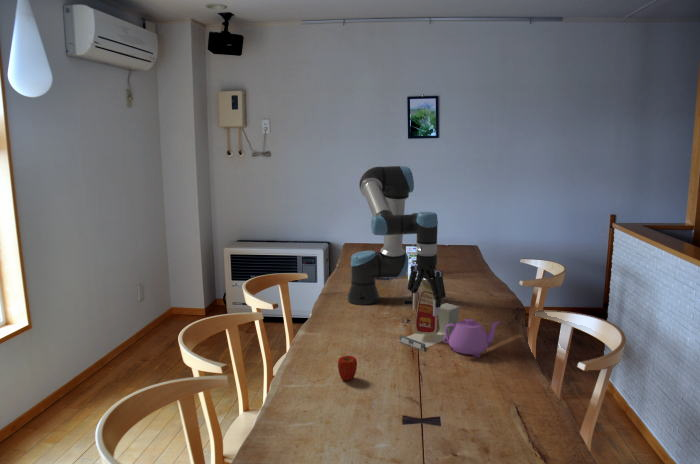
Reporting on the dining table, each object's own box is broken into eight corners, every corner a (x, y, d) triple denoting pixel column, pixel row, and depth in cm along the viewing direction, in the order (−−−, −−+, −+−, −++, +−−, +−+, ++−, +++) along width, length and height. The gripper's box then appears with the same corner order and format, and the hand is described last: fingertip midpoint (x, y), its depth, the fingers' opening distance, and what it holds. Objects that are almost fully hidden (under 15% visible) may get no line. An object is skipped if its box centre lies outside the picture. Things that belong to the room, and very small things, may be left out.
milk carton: (414, 333, 202) (415, 282, 198) (417, 325, 211) (417, 275, 207) (439, 335, 200) (440, 283, 196) (440, 326, 209) (441, 276, 205)
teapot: (497, 346, 199) (499, 314, 197) (500, 362, 186) (502, 327, 183) (443, 343, 203) (443, 311, 201) (442, 358, 189) (442, 324, 187)
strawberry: (350, 385, 170) (350, 363, 168) (334, 380, 173) (333, 358, 172) (360, 377, 175) (360, 356, 174) (344, 373, 178) (344, 352, 177)
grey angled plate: (399, 342, 204) (399, 335, 204) (439, 327, 220) (439, 321, 219) (423, 351, 195) (423, 344, 195) (463, 335, 211) (464, 328, 211)
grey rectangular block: (436, 331, 212) (436, 306, 210) (446, 327, 216) (446, 303, 214) (448, 335, 208) (449, 310, 206) (458, 331, 212) (459, 306, 210)
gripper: (398, 251, 205) (397, 307, 209) (443, 260, 188) (442, 321, 192) (411, 248, 210) (410, 303, 214) (456, 257, 193) (455, 316, 197)
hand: (425, 312), depth 203 cm, fingers closed on milk carton, 9 cm apart
